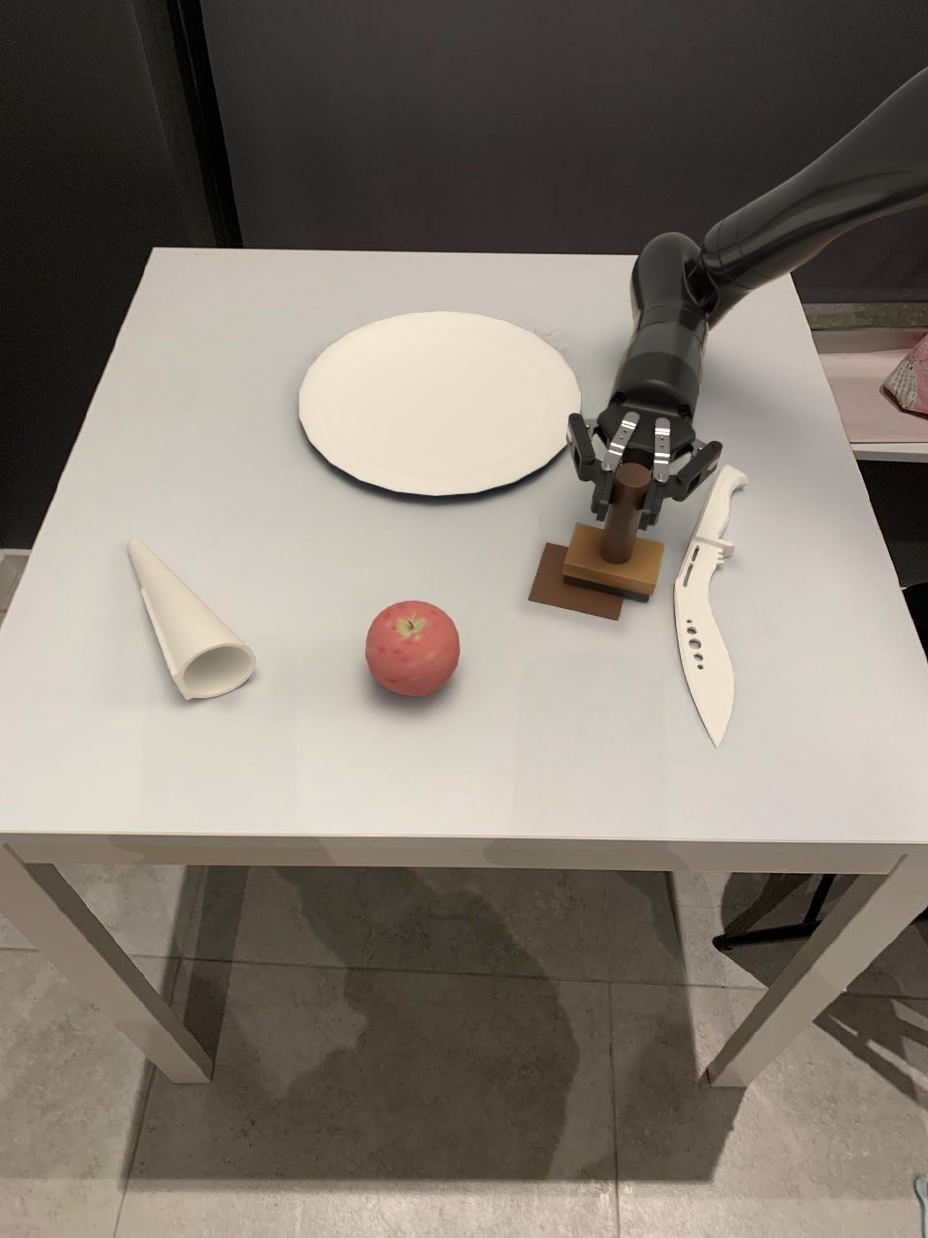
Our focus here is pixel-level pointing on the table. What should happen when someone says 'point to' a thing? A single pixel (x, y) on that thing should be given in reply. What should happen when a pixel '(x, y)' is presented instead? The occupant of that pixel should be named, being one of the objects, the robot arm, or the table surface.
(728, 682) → the knife
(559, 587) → the brown flat block
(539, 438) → the plate
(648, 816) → the table surface
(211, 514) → the table surface
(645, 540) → the wooden handled stamp
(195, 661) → the long cone
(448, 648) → the apple
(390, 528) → the table surface
